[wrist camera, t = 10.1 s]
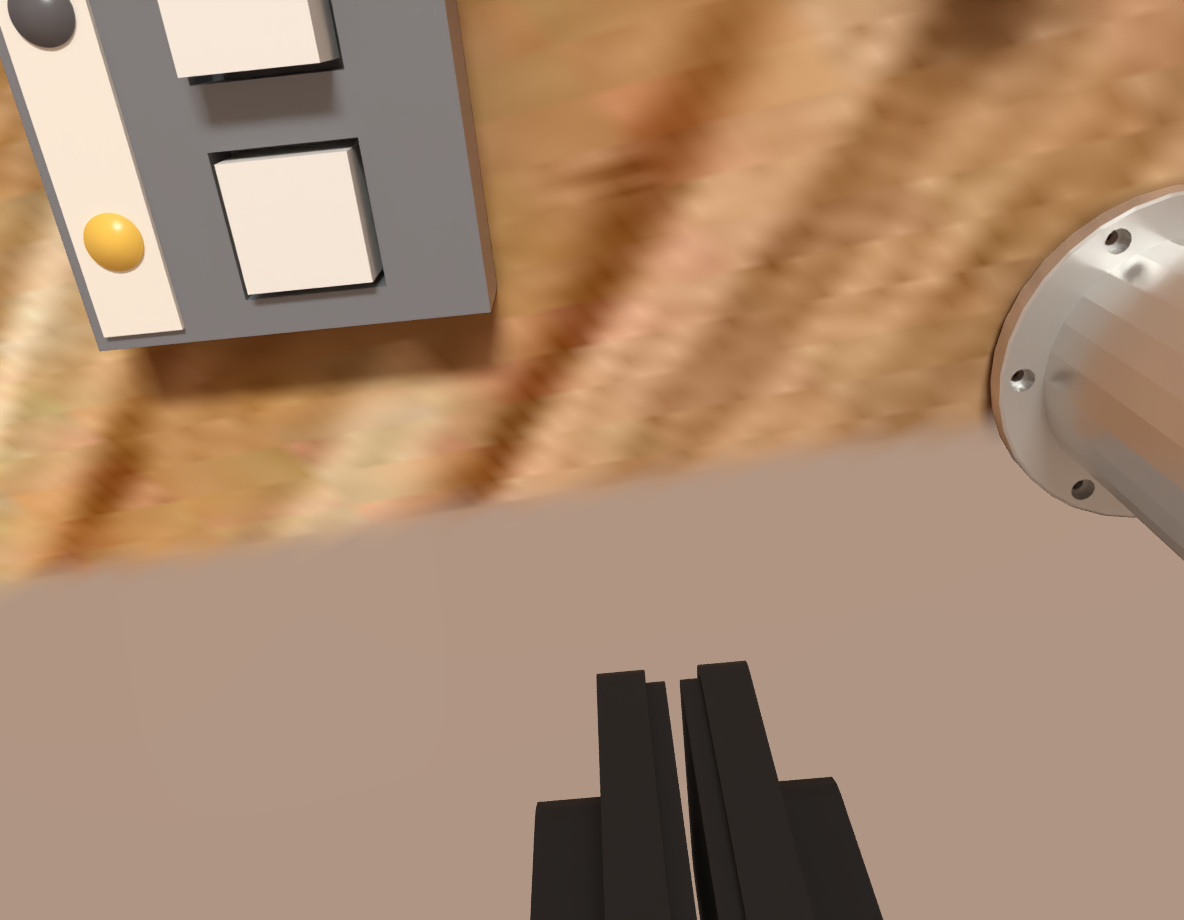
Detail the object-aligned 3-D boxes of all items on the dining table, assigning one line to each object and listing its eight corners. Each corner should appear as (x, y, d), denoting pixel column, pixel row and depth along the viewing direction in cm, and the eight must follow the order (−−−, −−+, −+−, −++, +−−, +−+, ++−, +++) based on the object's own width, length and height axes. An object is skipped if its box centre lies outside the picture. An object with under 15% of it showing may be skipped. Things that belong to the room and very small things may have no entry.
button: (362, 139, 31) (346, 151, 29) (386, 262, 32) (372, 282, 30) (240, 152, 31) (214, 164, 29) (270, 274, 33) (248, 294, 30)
